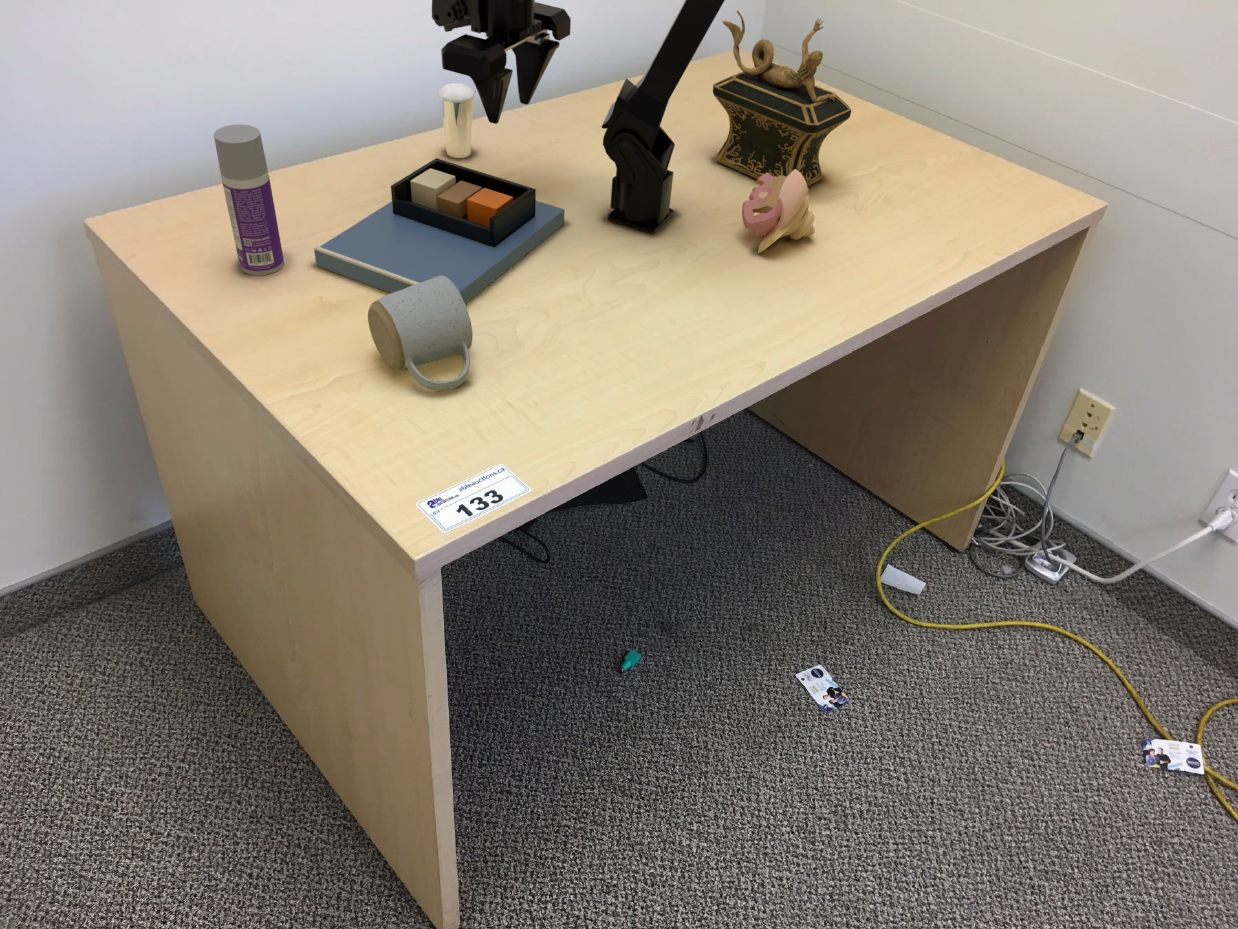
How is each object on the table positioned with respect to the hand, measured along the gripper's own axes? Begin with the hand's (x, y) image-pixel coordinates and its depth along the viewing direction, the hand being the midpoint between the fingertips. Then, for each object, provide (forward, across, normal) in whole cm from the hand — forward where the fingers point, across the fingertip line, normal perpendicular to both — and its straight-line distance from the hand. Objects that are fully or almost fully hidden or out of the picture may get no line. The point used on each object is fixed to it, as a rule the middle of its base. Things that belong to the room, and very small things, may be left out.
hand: (509, 112), depth 119 cm
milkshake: (+11, -7, -12) cm, 18 cm away
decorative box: (+11, -28, +23) cm, 38 cm away
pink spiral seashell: (+11, -9, +32) cm, 35 cm away
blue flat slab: (+11, +14, 0) cm, 18 cm away
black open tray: (+9, +10, 0) cm, 13 cm away
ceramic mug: (+11, +34, +12) cm, 38 cm away
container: (+11, +29, -14) cm, 34 cm away
